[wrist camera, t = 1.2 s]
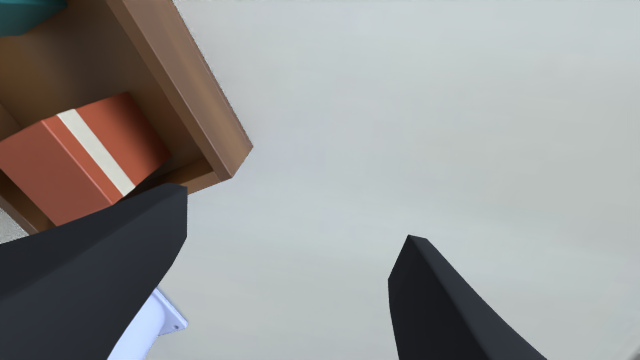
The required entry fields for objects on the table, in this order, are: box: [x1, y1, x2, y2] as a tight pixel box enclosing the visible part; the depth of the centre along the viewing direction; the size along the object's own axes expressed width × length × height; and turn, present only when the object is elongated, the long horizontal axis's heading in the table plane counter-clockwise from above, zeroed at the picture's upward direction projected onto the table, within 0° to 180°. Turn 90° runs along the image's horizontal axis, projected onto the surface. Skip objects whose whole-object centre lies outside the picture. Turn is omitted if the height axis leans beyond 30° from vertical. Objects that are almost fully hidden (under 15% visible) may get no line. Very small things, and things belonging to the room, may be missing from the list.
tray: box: [0, 0, 253, 235], centre depth 16 cm, size 13×16×4 cm
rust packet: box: [0, 92, 172, 226], centre depth 16 cm, size 4×4×6 cm
